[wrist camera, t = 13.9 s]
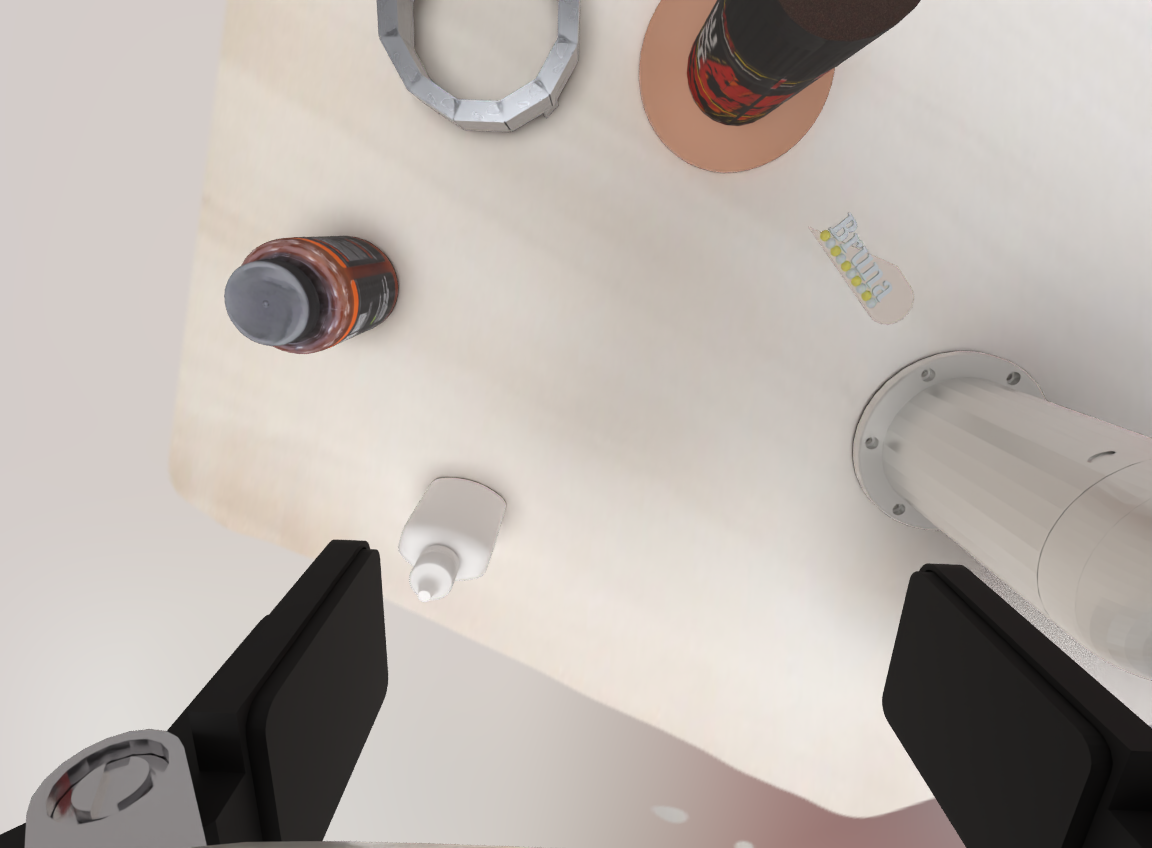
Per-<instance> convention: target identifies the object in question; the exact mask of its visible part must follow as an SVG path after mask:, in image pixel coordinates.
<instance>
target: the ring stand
mask: <svg viewBox="0 0 1152 848" xmlns="http://www.w3.org/2000/svg"><path fill="white" fill-rule="evenodd" d="M414 1H415V0H377V15H378V33H379V37H380V38H379V39H380V40H381V42H382V44H383V46H384V48H385V50H386V51H387V53H388V55H389V57H390V59H391V61H392V62H393V64H394V66H395V68H396V70H397V72H398V73H399V75H400V77H401V79H402V81H403V83H404V84H405V86H406V88H407V89H408V91H410V92H411V93H412V94H413V95H414V96H416V97H417V98H418V99H419V100H420V101H422V102H423V103H424V104H426V105H427V106H429V107H430V108H432V109H433V110H435V111H436V112H438V113H439V114H441V115H442V116H444V117H445V118H447V119H448V120H450V121H451V122H453V123H454V124H456V125H457V126H459V127H460V128H462V129H463V130H470V131H496V132H511V131H514V130H516V129H517V128H519V127H521V126H523V125H524V124H526V123H528V122H529V121H531V120H533V119H534V118H536V117H538V116H539V115H541V114H543V115H544V116H545V117H546V118H547V117H548V116H549V115H550V114H551V113H552V112H553V111H554V110H555V109H556V108H557V107H558V106H559V105H558V100H557V99H558V97H559V95H560V94H561V92H562V90H563V88H564V86H565V84H566V83H567V81H568V79H569V77H570V75H571V74H572V72H573V70H574V68H575V66H576V65H577V63H578V54H579V24H580V0H557V1H558V4H559V7H558V38H557V40H556V42H555V44H554V46H553V48H552V49H551V51H550V53H549V55H548V57H547V59H546V61H545V62H544V64H543V66H542V68H541V70H540V72H539V74H538V75H537V77H536V79H534V80H533V81H531V82H529V83H528V84H526V85H525V86H523V87H521V88H520V89H518V90H516V91H515V92H513V93H511V94H510V95H508V96H506V97H505V98H503V99H502V100H500V101H492V100H466V99H457V98H455V97H454V96H452V95H451V94H449V93H448V92H447V91H445V90H444V89H442V88H441V87H439V86H438V85H436V84H435V83H434V82H433V81H432V80H431V79H430V77H429V76H428V74H427V72H426V70H425V68H424V66H423V64H422V62H421V61H420V59H419V57H418V55H417V53H416V51H415V45H414V19H413V3H414Z"/></svg>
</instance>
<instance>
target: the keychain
mask: <svg viewBox="0 0 1152 848" xmlns="http://www.w3.org/2000/svg"><path fill="white" fill-rule="evenodd" d="M848 215H849V216H848V217H847V218H846V219H844V220H843V221H842V222H841V223H839V224H838V225H837V226H836V227H834V228H833V229H832V228H831V227H830V228H829V230H830V232H831V233H832V235H833V236H834V238H833V237H831V236H830V232H829V231H828V230H824V231H822V232H820V231H818V230H815V229H813V228H811V227H809V229H810V230H811V232H812V233H813V235H814V236H815V237H816V239H817V240H818V242H819V243H820V245H821V246H822V248H823V249H824V251H825V252H826V253H827V255H828V256H829V258H830V259H831V261H832V262H833V264H834V265H835V267H836V268H837V269H838V271H839V272H840V274H841V275H842V277H843V278H844V280H845V281H846V282H847V284H848V285H849V287H850V288H851V290H852V291H853V293H854V294H855V296H856V297H857V298H858V300H859V301H860V303H861V304H862V306H863V307H864V309H865V310H866V311H867V313H868V314H869V316H870V317H871V318H872V319H873V320H874V321H875V322H878V323H880V324H886V325H889V324H894V323H897V322H898V321H900V320H902V319H903V318H904V317H905V316H906V315H907V314H908V313H909V311H910V310H911V308H912V305H913V301H914V294H913V290H912V288H911V286H910V284H909V283H908V281H907V280H906V278H905V277H904V275H903V274H902V272H901V271H900V269H899V268H898V266H896V265H894V264H892V263H889V262H887V261H885V260H883V259H880V258H878V257H876V256H874V255H871V254H869V253H867V252H868V250H867V249H866V247H865V246H863V242H862V241H861V240H858V239H859V237H858V235H857V234H856V233H855V234H854V237H853V238H852V239H850V240H849V241H848V242H847V243H844V242H842V241H843V240H845V239H846V238H847V236H848V232H853V231H855V230H856V228H857V222H856V220H855V219H854V217H853V216H852V214H851V213H850V212H849V213H848ZM850 221H853V225H852V226H851V227H849V228H847V227H846V226H845V225H847V224H848V223H849V222H850ZM842 228H843V229H844V233H843V234H842V235H841V236H839V237H838V236H837V235H836V234H835V233H837V232H838V231H839V230H840V229H842ZM855 242H858V244H857V245H856V246H857V247H862V246H863V247H862V248H863V249H862V250H860V249H858V248H856V247H853V246H851V245H852V244H854V243H855Z"/></svg>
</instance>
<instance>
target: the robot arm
mask: <svg viewBox="0 0 1152 848" xmlns="http://www.w3.org/2000/svg"><path fill="white" fill-rule="evenodd" d="M923 371H924V373H923V375H921V374H922V372H923ZM868 438H869V440H868V441H867V442H866V440H867V439H868ZM853 461H854V467H855V472H856V476H857V478H858V481H859V483H860V485H861V488H862V489H863V491H864V492H865V493H866V495H867V496H868V498H869V499H870V500H871V501H872V502H873V503H874V504H875V505H876V506H877V507H878V508H879V509H880V510H881V511H882V512H884V513H885V514H886V515H888V516H889V517H890V518H892V519H894V520H896V521H898V522H900V523H903V524H905V525H907V526H911V527H915V528H920V529H924V530H941V531H942V532H944V533H945V534H946V535H947V536H949V537H950V538H951V539H952V540H953V541H955V542H956V543H957V544H958V545H959V546H961V547H962V548H963V549H964V550H965V551H967V552H968V553H969V554H970V555H972V556H973V557H974V558H975V559H976V560H978V561H979V562H980V563H981V564H982V565H984V566H985V567H986V568H987V569H988V570H990V571H991V572H992V573H993V574H995V575H996V576H997V577H998V578H999V579H1001V580H1002V581H1003V582H1004V583H1005V584H1007V585H1008V586H1009V587H1010V588H1011V589H1013V590H1014V591H1015V592H1016V593H1018V594H1019V595H1020V596H1021V597H1022V598H1024V599H1025V600H1026V601H1027V602H1028V603H1030V604H1031V605H1032V606H1033V607H1034V608H1036V609H1037V610H1038V611H1039V612H1040V613H1042V614H1043V615H1044V616H1045V617H1047V618H1048V619H1049V620H1050V621H1051V622H1053V623H1054V624H1055V625H1056V626H1058V627H1059V628H1060V629H1062V630H1063V631H1064V632H1065V633H1067V634H1068V635H1069V636H1070V637H1071V638H1073V639H1074V640H1075V641H1076V642H1077V643H1079V644H1080V645H1081V646H1083V647H1084V648H1085V649H1087V650H1088V651H1090V652H1091V653H1092V654H1094V655H1095V656H1097V657H1098V658H1100V659H1102V660H1104V661H1105V662H1107V663H1109V664H1111V665H1113V666H1115V667H1117V668H1119V669H1121V670H1124V671H1126V672H1129V673H1131V674H1134V675H1136V676H1139V677H1142V678H1145V679H1148V680H1151V681H1152V438H1150V437H1147V436H1144V435H1142V434H1139V433H1136V432H1133V431H1130V430H1128V429H1125V428H1122V427H1119V426H1116V425H1113V424H1111V423H1108V422H1105V421H1102V420H1099V419H1097V418H1094V417H1091V416H1088V415H1085V414H1082V413H1080V412H1077V411H1074V410H1071V409H1068V408H1066V407H1063V406H1060V405H1057V404H1054V403H1052V402H1049V401H1046V399H1045V396H1044V394H1043V392H1042V391H1041V389H1040V387H1039V386H1038V384H1037V382H1036V381H1035V380H1034V379H1033V378H1032V377H1031V376H1030V375H1029V374H1028V373H1027V372H1026V371H1025V370H1023V369H1022V368H1020V367H1019V366H1017V365H1015V364H1014V363H1012V362H1011V361H1008V360H1005V359H1002V358H999V357H997V356H994V355H989V354H985V353H981V352H976V351H954V352H947V353H940V354H937V355H934V356H931V357H928V358H925V359H922V360H920V361H918V362H916V363H914V364H912V365H910V366H908V367H906V368H904V369H903V370H902V371H900V372H899V373H898V374H896V375H895V376H894V377H892V378H891V379H890V380H888V381H887V382H886V383H885V384H884V386H883V387H882V388H881V389H880V390H879V391H878V392H877V393H876V394H875V395H874V397H873V398H872V400H871V401H870V403H869V404H868V406H867V407H866V409H865V410H864V412H863V415H862V417H861V419H860V421H859V424H858V426H857V430H856V434H855V439H854V445H853ZM387 686H388V667H387V652H386V637H385V623H384V609H383V594H382V580H381V566H380V555H379V552H378V550H374V549H370V547H369V544H368V542H367V541H356V540H332V541H331V542H330V543H329V544H328V545H327V546H326V547H325V549H324V550H323V551H322V552H321V553H320V555H319V556H318V557H317V558H316V559H315V560H314V562H313V563H312V564H311V565H310V566H309V568H308V569H307V570H306V571H305V572H304V574H303V575H302V576H301V577H300V578H299V580H298V581H297V582H296V583H295V584H294V586H293V587H292V588H291V589H290V590H289V591H288V593H287V594H286V595H285V596H284V597H283V599H282V600H281V601H280V602H279V603H278V605H277V606H276V607H275V608H274V609H273V611H272V612H271V613H270V614H269V615H267V616H265V617H264V618H263V619H262V620H261V621H260V622H259V623H258V624H257V625H256V627H255V628H254V629H253V630H252V631H251V633H250V634H249V635H248V636H247V637H246V638H245V640H244V641H243V642H242V643H241V644H240V645H239V647H238V648H237V649H236V650H235V651H234V653H233V654H232V655H231V656H230V657H229V658H228V660H227V661H226V662H225V663H224V664H223V665H222V667H221V668H220V669H219V670H218V671H217V673H216V674H215V675H214V676H213V678H211V680H210V681H209V682H208V683H207V685H206V686H205V687H204V688H203V689H202V690H201V692H200V693H199V694H198V695H197V696H196V698H195V699H194V700H193V701H192V702H191V703H190V705H189V706H188V707H187V708H186V709H185V710H184V711H183V713H182V714H181V715H180V716H179V717H178V719H177V720H176V721H175V722H174V723H173V724H172V726H171V727H170V728H169V729H168V731H162V730H153V729H146V730H138V731H129V732H126V733H123V734H120V735H116V736H113V737H110V738H107V739H104V740H102V741H100V742H98V743H96V744H94V745H92V746H89V747H87V748H85V749H83V750H82V751H80V752H79V753H77V754H76V755H74V756H73V757H71V758H70V759H68V760H67V761H65V762H64V763H62V764H61V765H60V766H59V767H58V768H57V769H56V770H54V771H53V772H52V773H51V774H50V775H49V776H48V777H47V778H46V779H45V780H44V781H43V782H42V784H41V785H40V786H39V788H38V789H37V791H36V792H35V793H34V795H33V796H32V798H31V801H30V804H29V807H28V811H27V815H26V823H24V824H22V825H20V826H18V827H16V828H14V829H11V830H10V831H7V832H5V833H3V834H1V835H0V848H541V847H514V846H485V845H458V844H457V845H456V844H430V843H428V844H427V843H391V842H389V843H388V842H351V841H323V838H324V836H325V834H326V831H327V829H328V827H329V825H330V822H331V820H332V818H333V815H334V813H335V811H336V809H337V806H338V804H339V802H340V799H341V797H342V795H343V792H344V790H345V788H346V786H347V783H348V781H349V779H350V776H351V774H352V772H353V770H354V767H355V765H356V763H357V760H358V758H359V756H360V753H361V751H362V749H363V747H364V744H365V742H366V740H367V737H368V735H369V733H370V730H371V728H372V726H373V724H374V721H375V719H376V717H377V714H378V712H379V710H380V708H381V705H382V703H383V700H384V698H385V695H386V691H387ZM882 706H883V711H884V714H885V717H886V719H887V721H888V723H889V724H890V726H891V727H892V729H893V731H894V732H895V734H896V736H897V737H898V739H899V740H900V742H901V744H902V745H903V747H904V748H905V750H906V752H907V753H908V755H909V756H910V758H911V760H912V761H913V763H914V764H915V766H916V768H917V769H918V771H919V772H920V774H921V776H922V777H923V779H924V780H925V782H926V784H927V785H928V787H929V788H930V790H931V792H932V793H933V795H934V796H935V798H936V800H937V801H938V803H939V805H940V806H941V808H942V809H943V811H944V813H945V814H946V816H947V817H948V819H949V821H950V822H951V824H952V825H953V827H954V828H955V830H956V832H957V833H958V835H959V837H960V838H961V840H962V841H963V843H964V845H965V846H966V848H1152V728H1151V727H1149V726H1148V725H1147V724H1146V723H1145V722H1144V721H1143V720H1141V719H1140V718H1139V717H1138V716H1137V715H1136V714H1134V713H1133V712H1132V711H1131V710H1130V709H1129V708H1128V707H1126V706H1125V705H1124V704H1123V703H1122V702H1121V701H1120V700H1118V699H1117V698H1116V697H1115V696H1114V695H1113V694H1111V693H1110V692H1109V691H1108V690H1107V689H1106V688H1105V687H1103V686H1102V685H1101V684H1100V683H1099V682H1098V681H1096V680H1095V679H1094V678H1093V677H1092V676H1091V675H1090V674H1088V673H1087V672H1086V671H1085V670H1084V669H1083V668H1082V667H1080V666H1079V665H1078V664H1077V663H1076V662H1075V661H1073V660H1072V659H1071V658H1070V657H1069V656H1068V655H1067V654H1065V653H1064V652H1063V651H1062V650H1061V649H1060V648H1058V647H1057V646H1056V645H1055V644H1054V643H1053V642H1052V641H1050V640H1049V639H1048V638H1047V637H1046V636H1045V635H1044V634H1042V633H1041V632H1040V631H1039V630H1038V629H1037V628H1035V627H1034V626H1033V625H1032V624H1031V623H1030V622H1029V621H1027V620H1026V619H1025V618H1024V617H1023V616H1022V615H1020V614H1019V613H1018V612H1017V611H1016V610H1015V609H1014V608H1012V607H1011V606H1010V605H1009V604H1008V603H1007V602H1006V601H1004V600H1003V599H1002V598H1001V597H1000V596H999V595H997V594H996V593H995V592H994V591H993V590H992V589H991V588H989V587H988V586H987V585H986V584H985V583H984V582H982V581H981V580H980V579H979V578H978V577H977V576H976V575H974V574H973V573H972V572H971V571H970V570H969V569H968V568H966V567H964V566H963V565H950V564H925V565H923V566H922V568H921V569H920V571H919V572H918V571H916V572H914V573H913V574H912V575H911V577H910V580H909V584H908V589H907V593H906V597H905V602H904V606H903V610H902V614H901V619H900V623H899V627H898V632H897V636H896V640H895V645H894V649H893V653H892V657H891V662H890V666H889V670H888V675H887V679H886V683H885V687H884V692H883V697H882Z"/></svg>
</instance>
